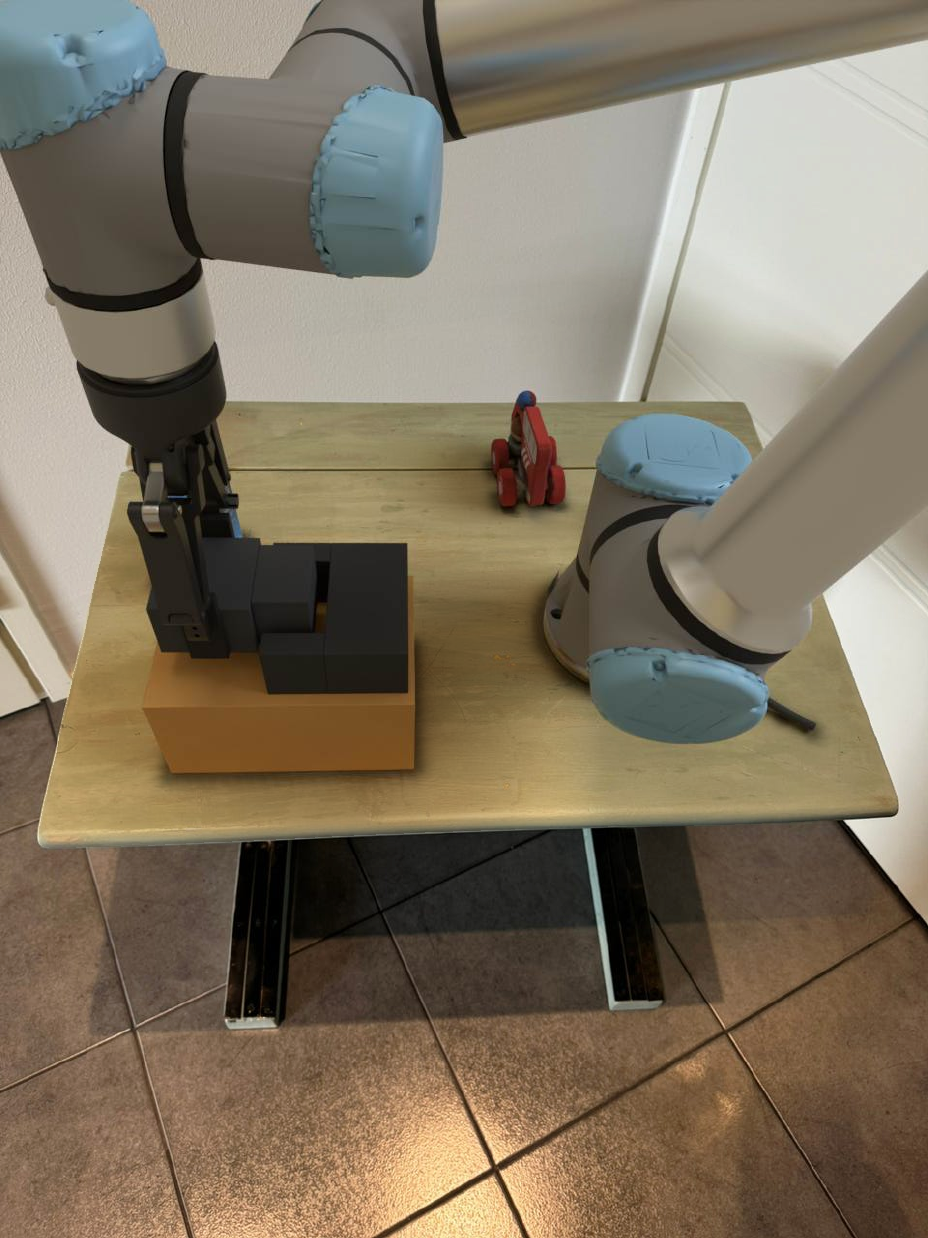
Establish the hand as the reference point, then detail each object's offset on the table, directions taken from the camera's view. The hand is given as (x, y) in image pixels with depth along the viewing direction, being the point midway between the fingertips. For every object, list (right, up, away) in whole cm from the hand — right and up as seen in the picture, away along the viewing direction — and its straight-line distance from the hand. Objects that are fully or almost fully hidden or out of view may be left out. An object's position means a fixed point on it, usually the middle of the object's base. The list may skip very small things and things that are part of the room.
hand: (217, 613), depth 63 cm
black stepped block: (+2, 0, 0) cm, 2 cm away
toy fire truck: (+25, +15, +31) cm, 42 cm away
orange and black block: (+4, -8, +10) cm, 14 cm away
